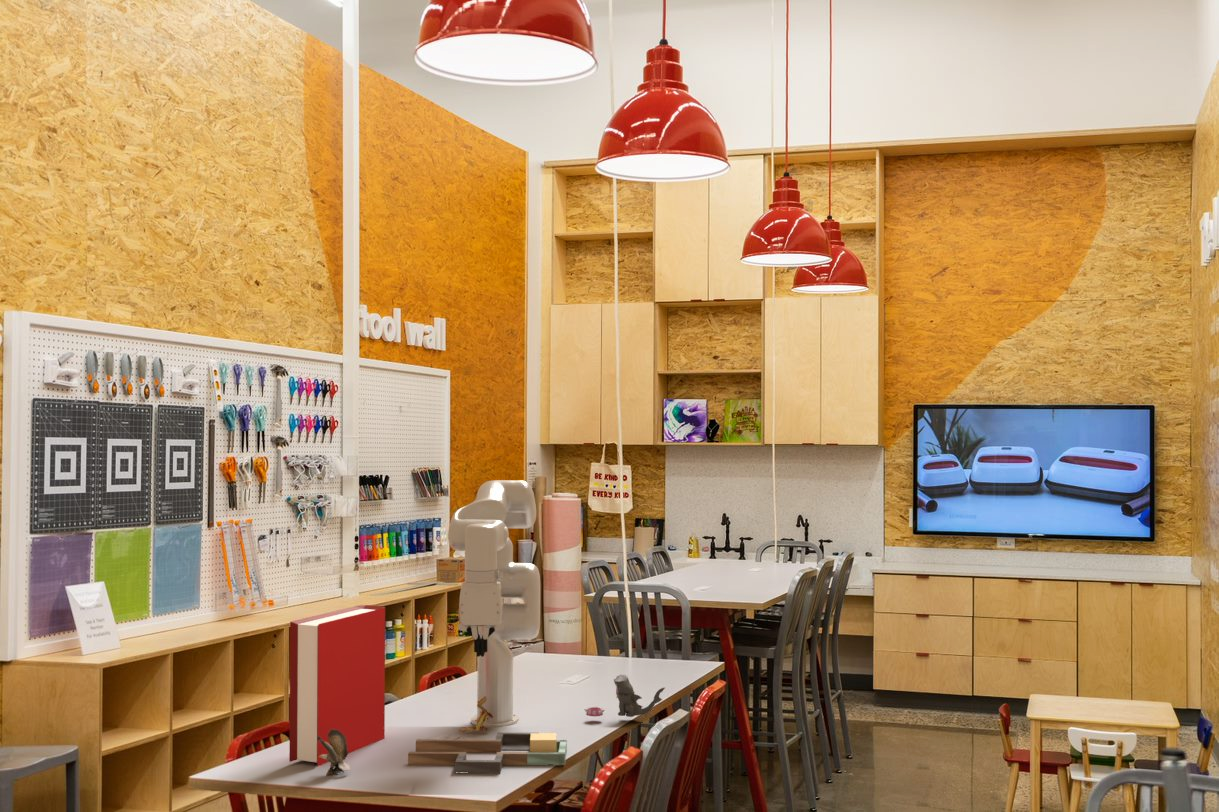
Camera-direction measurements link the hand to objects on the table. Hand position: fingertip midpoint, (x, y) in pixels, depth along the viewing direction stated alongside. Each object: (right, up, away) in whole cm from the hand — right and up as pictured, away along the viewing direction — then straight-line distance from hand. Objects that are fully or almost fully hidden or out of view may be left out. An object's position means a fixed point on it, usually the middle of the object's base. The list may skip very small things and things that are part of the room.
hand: (480, 655), depth 279 cm
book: (-34, -23, +5) cm, 41 cm away
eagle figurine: (-31, -23, -15) cm, 41 cm away
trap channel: (+2, -23, -2) cm, 23 cm away
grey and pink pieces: (+34, -24, +38) cm, 56 cm away
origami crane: (-2, -24, +16) cm, 29 cm away
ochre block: (+15, -23, -2) cm, 28 cm away
